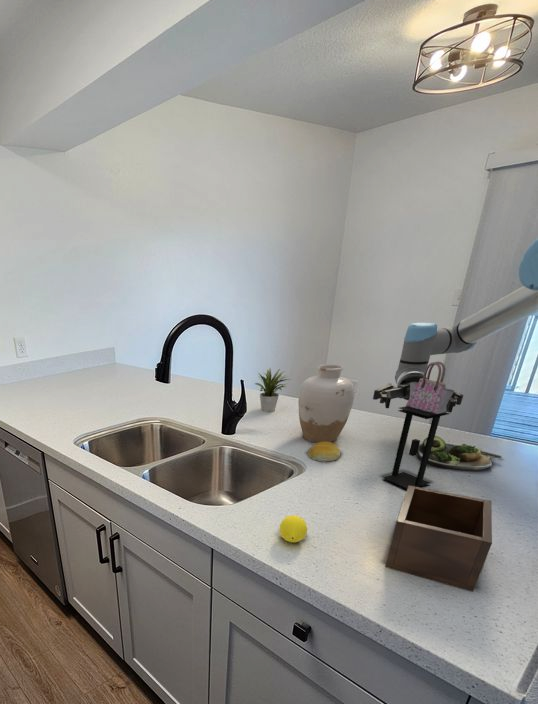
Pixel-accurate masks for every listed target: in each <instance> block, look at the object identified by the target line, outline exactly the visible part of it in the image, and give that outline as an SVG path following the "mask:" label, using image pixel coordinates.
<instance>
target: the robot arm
mask: <svg viewBox="0 0 538 704" xmlns="http://www.w3.org/2000/svg"><path fill="white" fill-rule="evenodd" d="M518 278H519V281H520V283H521V285H522V286H520V287H519V288H517V289H516V290H514V291H512V292H510V293H509V294H506V295H505V296H503V297H502V298H500V299H498V300H497V301H495V302H492V303H491V304H488V305H487V306H485V307H484V308H482V309H480V310H479V311H476V312H475V313H473V314H471V315H470V316H468V317H466V318H464V319H463V320H461V321H459V322H457V323H455V324H454V325H452V326H448V327H440V328H438V324H437V323H434V322H413V323H410V324H409V325H408V326H407V329H406V331H405V335H404V338H403V344H402V350H401V354H400V359H399V361H398V365H397V366H398V367H397V369H396V371H395V375H394V380H395V384H396V386H394V384H393V383H391V382H389V383H387V384H386V385H384V386H381V387H379V388H375V389H374V391H373V396H372V400H375V401H377V400H379V404H384V406H385V409H389V408H390V405H391V400H393V399H403V400H404V401H408V400H409V398H410V382H419V380H420V379H421V378H423V376H424V372H425V370H426V368H427V366H428V365H429V363H430V358H431V356H437V355H446V354H458V353H463V352H466V351H467V352H468V351H470V350H472V349H473V348H474V347H475V346H476V344H477V343H478V342H479V341H482V340H483V339H486V338H488V337H490V336H492V335H494V334H496V333H499V332H501V330H504V329H506V328H509V327H510V326H512V325H514V324H517V323H518V322H520V321H523V320H524V319H526V318H528V317H530V316H533V315H534V314H536V313H538V237H537V238H536V239H535V240H534V241H533V242H532V243H531V244H530V245H529V246H528V248H527V249H526V250H525V252H524V254H523V257H522V259H521V260H520V262H519V266H518ZM426 379H427V376H426ZM445 389H447V387H445ZM463 398H464V394H463V393H459V392H457V391H454V393H453V394H452V396H451V397H450V399H449V401H448V403H447V405H446V410H450V412H449V414H452V412H453V410H454V409H453V408H455V407H456V406H460V405H462V402H463V400H464V399H463Z"/></svg>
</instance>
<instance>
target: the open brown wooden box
mask: <svg viewBox="0 0 538 704" xmlns="http://www.w3.org/2000/svg"><path fill="white" fill-rule="evenodd" d="M404 495H405V496H404V498H403V501H402V504H401V507H400V510H399V513H398V516H397V519H396V522H395V525H394V526H395V527H394V530H393V534H392V537H391V540H390V545H389V548H388V553H387V557H386V561H385V563H384V564H385V565H384V568H387V569H391V570H395V571H398V572H402V573H405V574H408V575H413V576H416V577H420V578H423V579H427V580H430V581H434V582H436V583H441V584H444V585H447V586H451V587H455V588H459V589H461V590H465V591H469V592H474V591H475V588H476V585H477V584H478V581H479V578H480V575H481V574H482V573H481V572H482V570H483V568H484V565H485V563H486V560H487V557H488V554H489V552H490V550H491V547H492V545H493V522H492V521H493V517H492V516H493V515H492V500H491V499H490V500H489V499H485V498H484V499H483V498H479V497H474V496H468V495H462V494H458V493H452V492H447V491H442V490H437V489H431V488H426V487H422V488H421V487H415V486H410V485H409V486H408V489H407V491H405V494H404Z"/></svg>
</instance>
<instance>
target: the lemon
mask: <svg viewBox="0 0 538 704" xmlns="http://www.w3.org/2000/svg"><path fill="white" fill-rule="evenodd" d="M279 533H280V537H282V539H284V540H285V542H289V543H298V542H300V541H303V540H304V538H305V537H306V536H307V533H308V526H307V522H306V521H305V520H304V518H302V517H300V516H298V515H295V514H294V515H287V516H286V517H285V518H283V519H282V520H281V523H280V524H279Z"/></svg>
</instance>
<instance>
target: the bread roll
mask: <svg viewBox="0 0 538 704" xmlns="http://www.w3.org/2000/svg"><path fill="white" fill-rule="evenodd" d="M308 456H309V458H310V459H312V460H314V461H317V462H325V463H326V462H334V461H337V460H338V459H339V458H340V456H341V450H340V448H339V446H338V445H336V444H335V443H334V442H319V443H317V442H316V443H315V444H314V445H312V447H311V448H310V449H309V450H308Z"/></svg>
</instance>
